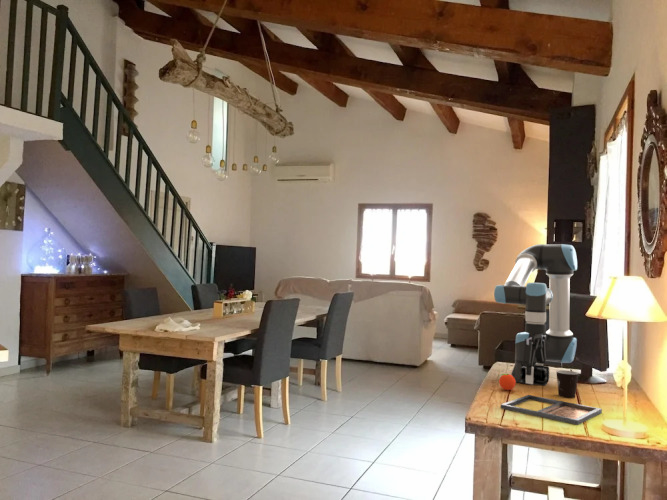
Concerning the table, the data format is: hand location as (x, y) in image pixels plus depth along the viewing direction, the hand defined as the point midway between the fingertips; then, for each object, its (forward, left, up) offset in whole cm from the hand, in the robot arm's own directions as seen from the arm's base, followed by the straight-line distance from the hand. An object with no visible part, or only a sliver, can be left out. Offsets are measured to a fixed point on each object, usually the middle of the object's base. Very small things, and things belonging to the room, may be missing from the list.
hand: (534, 381), depth 218 cm
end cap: (0, 0, -1) cm, 1 cm away
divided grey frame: (0, +7, -10) cm, 12 cm away
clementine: (-20, -21, -10) cm, 31 cm away
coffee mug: (-28, +2, -10) cm, 29 cm away
